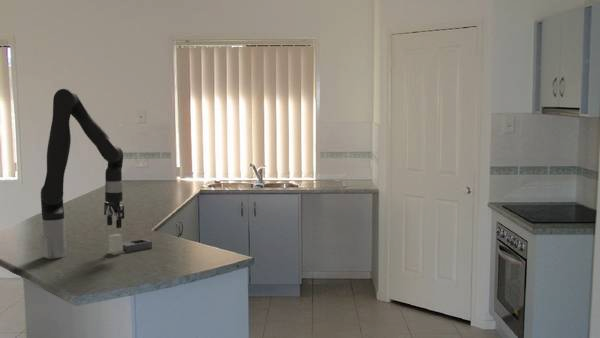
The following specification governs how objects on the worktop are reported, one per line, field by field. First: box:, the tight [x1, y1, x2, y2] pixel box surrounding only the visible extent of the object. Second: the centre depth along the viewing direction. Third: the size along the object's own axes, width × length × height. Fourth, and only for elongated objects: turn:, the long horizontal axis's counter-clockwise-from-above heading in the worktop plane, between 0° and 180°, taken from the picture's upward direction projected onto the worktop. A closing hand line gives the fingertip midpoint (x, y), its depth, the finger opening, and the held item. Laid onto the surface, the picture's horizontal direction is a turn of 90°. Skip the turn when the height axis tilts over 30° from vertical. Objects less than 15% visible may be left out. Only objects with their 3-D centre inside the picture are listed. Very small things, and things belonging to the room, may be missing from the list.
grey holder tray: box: [123, 238, 153, 253], centre depth 303 cm, size 13×8×4 cm, turn 134°
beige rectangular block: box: [107, 233, 124, 255], centre depth 296 cm, size 4×4×8 cm
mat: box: [106, 251, 127, 256], centre depth 296 cm, size 6×6×1 cm
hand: (114, 226), depth 294 cm, fingers open, 8 cm apart
